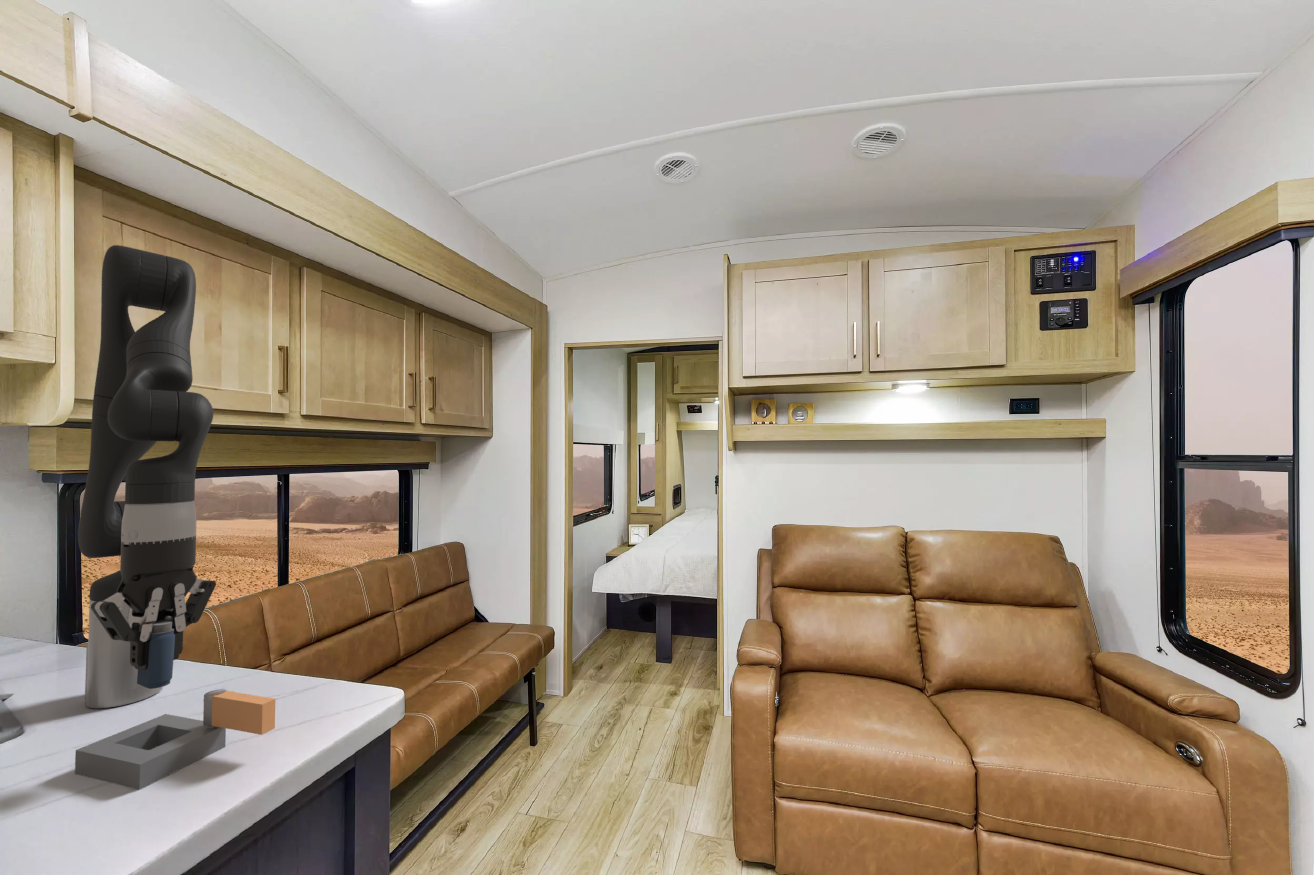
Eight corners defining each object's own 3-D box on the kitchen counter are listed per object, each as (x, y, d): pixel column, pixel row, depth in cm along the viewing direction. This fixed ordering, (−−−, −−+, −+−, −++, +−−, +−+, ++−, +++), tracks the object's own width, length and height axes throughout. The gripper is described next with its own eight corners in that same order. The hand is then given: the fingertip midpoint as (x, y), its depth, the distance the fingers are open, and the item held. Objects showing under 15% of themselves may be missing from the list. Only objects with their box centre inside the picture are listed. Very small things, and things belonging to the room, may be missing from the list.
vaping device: (157, 676, 74) (163, 589, 75) (174, 684, 72) (181, 593, 73) (132, 683, 72) (139, 592, 73) (150, 690, 70) (156, 597, 70)
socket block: (74, 773, 69) (75, 748, 69) (167, 733, 79) (168, 711, 79) (139, 789, 65) (140, 763, 66) (227, 745, 75) (228, 722, 75)
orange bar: (198, 724, 74) (199, 695, 74) (217, 716, 77) (217, 688, 77) (259, 736, 71) (260, 705, 71) (276, 727, 73) (277, 697, 74)
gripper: (196, 528, 81) (193, 644, 80) (74, 542, 67) (69, 682, 67) (233, 529, 79) (230, 648, 78) (115, 545, 65) (110, 688, 65)
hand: (156, 663), depth 72 cm, fingers closed on vaping device, 2 cm apart
